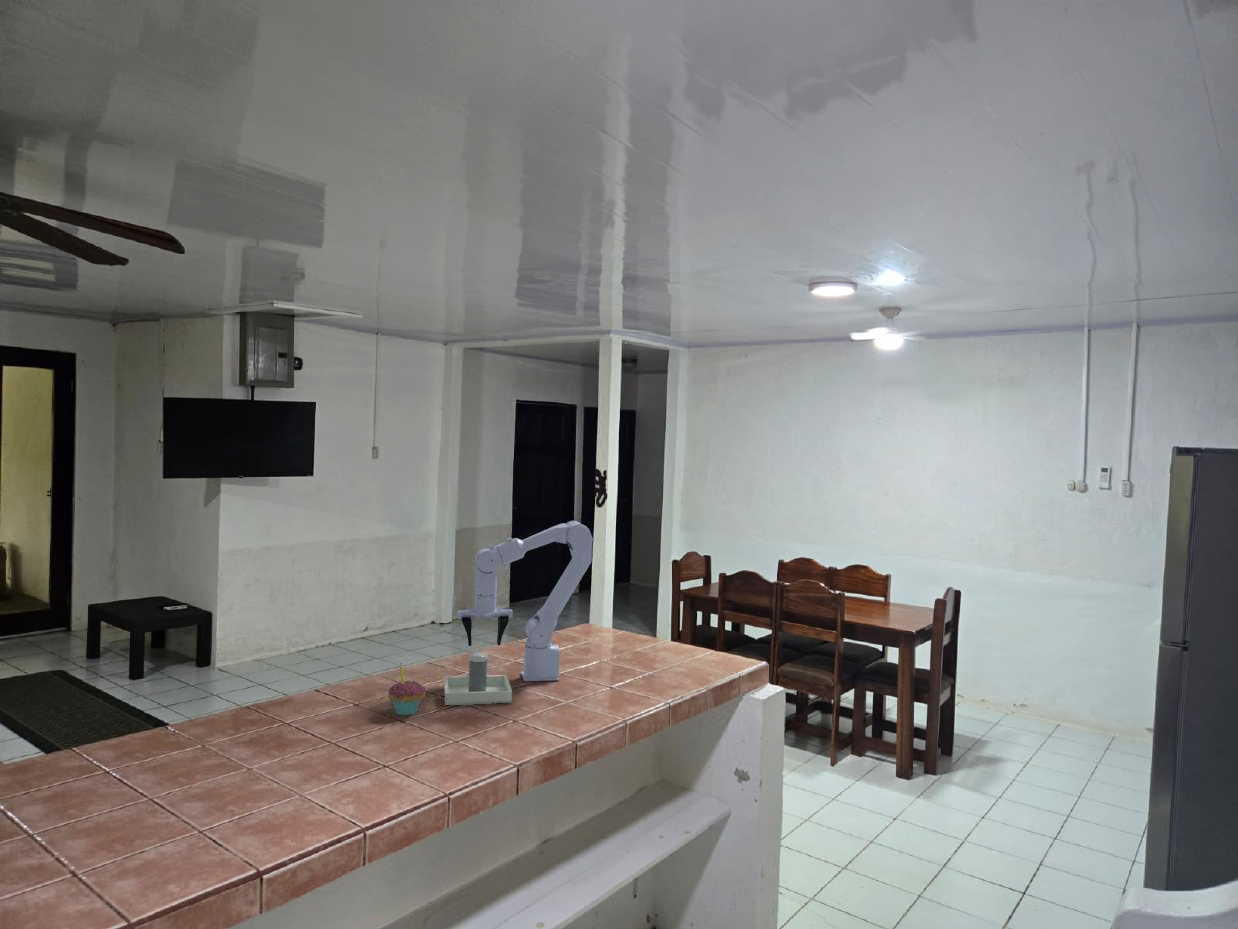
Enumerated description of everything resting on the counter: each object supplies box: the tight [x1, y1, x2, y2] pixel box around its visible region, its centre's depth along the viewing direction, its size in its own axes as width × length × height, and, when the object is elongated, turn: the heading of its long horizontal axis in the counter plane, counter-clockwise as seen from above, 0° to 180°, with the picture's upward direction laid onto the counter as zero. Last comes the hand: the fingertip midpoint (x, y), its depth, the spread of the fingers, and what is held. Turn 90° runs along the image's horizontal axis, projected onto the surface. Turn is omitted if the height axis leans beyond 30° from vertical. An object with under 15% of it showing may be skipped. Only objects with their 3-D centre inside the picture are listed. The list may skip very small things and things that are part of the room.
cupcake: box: [387, 663, 427, 716], centre depth 192 cm, size 9×8×12 cm
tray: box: [443, 674, 513, 706], centre depth 206 cm, size 16×14×3 cm
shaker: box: [468, 652, 489, 692], centre depth 206 cm, size 5×5×10 cm
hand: (484, 644), depth 220 cm, fingers open, 7 cm apart
